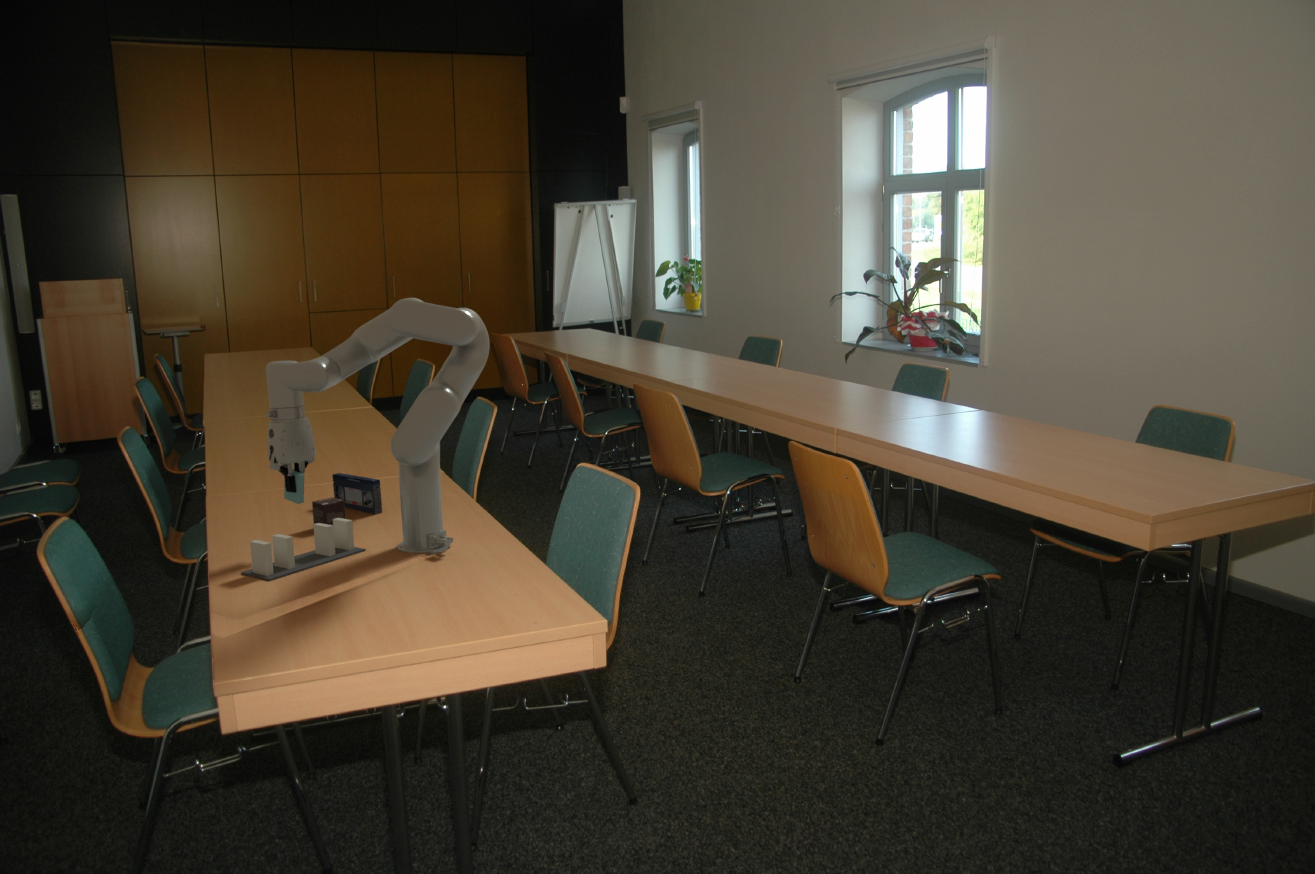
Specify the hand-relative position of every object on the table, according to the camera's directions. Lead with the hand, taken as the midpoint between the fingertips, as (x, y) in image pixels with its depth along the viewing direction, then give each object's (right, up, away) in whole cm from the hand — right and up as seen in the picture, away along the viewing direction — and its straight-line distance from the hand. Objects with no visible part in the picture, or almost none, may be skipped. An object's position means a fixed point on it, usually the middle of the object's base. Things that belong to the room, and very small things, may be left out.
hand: (294, 490), depth 219 cm
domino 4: (+11, -14, +3) cm, 18 cm away
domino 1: (-1, -17, -16) cm, 23 cm away
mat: (+5, -16, -6) cm, 18 cm away
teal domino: (0, -2, +1) cm, 3 cm away
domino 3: (+8, -15, -2) cm, 17 cm away
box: (0, -11, +23) cm, 26 cm away
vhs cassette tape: (+2, -8, +41) cm, 42 cm away
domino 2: (+2, -16, -11) cm, 20 cm away
